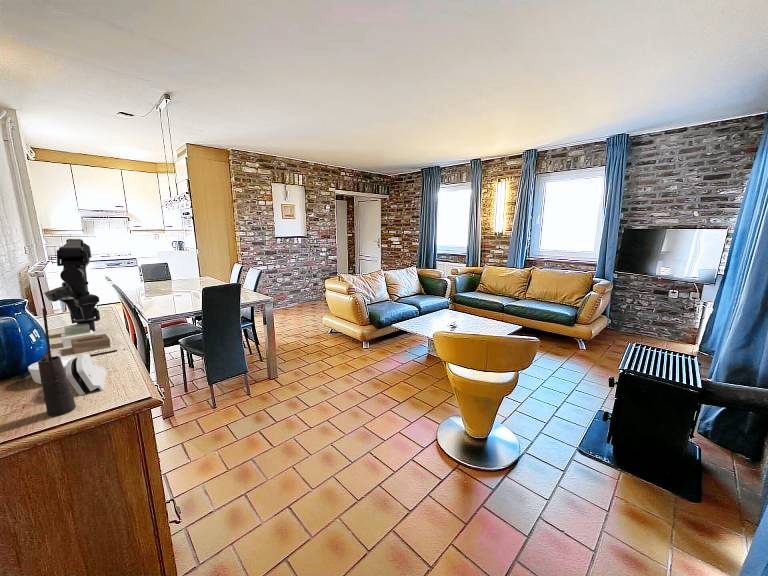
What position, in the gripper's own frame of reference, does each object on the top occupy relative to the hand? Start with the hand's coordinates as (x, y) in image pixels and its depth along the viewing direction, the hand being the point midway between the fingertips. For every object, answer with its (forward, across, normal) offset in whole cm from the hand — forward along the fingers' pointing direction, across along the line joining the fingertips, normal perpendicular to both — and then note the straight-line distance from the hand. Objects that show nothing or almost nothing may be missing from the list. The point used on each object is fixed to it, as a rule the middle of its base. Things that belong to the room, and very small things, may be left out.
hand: (80, 317), depth 122 cm
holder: (+12, -2, -1) cm, 12 cm away
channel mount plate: (+12, +9, -1) cm, 15 cm away
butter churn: (+10, +52, -25) cm, 59 cm away
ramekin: (+11, +27, -17) cm, 34 cm away
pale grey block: (+11, -2, 0) cm, 11 cm away
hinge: (+11, +40, -15) cm, 45 cm away
